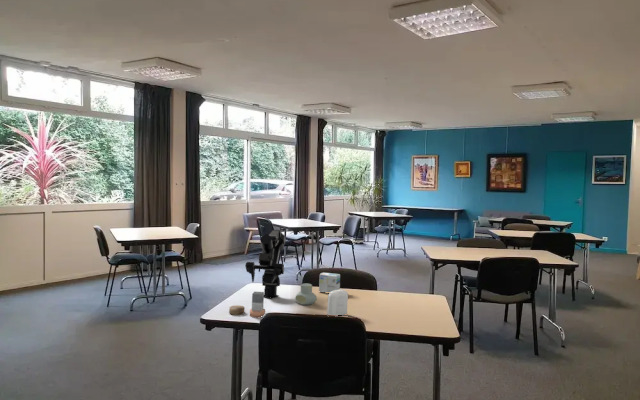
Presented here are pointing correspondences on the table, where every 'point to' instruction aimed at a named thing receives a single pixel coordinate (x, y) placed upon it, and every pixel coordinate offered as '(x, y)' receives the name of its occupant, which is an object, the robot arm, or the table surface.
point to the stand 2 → (257, 313)
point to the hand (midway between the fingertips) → (262, 282)
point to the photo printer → (337, 302)
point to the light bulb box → (329, 282)
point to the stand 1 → (236, 310)
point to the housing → (257, 301)
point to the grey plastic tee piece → (306, 295)
